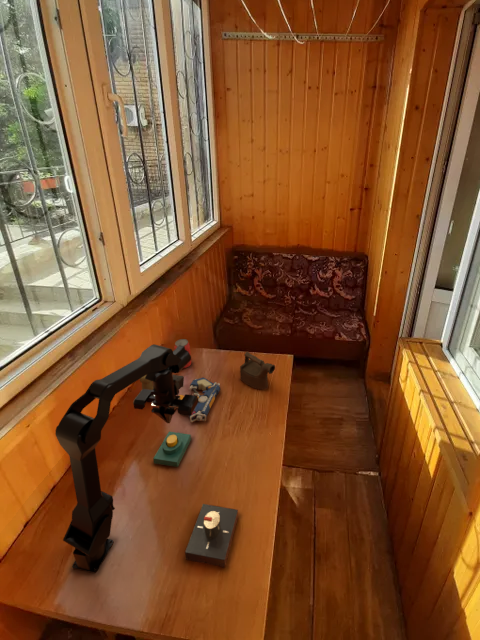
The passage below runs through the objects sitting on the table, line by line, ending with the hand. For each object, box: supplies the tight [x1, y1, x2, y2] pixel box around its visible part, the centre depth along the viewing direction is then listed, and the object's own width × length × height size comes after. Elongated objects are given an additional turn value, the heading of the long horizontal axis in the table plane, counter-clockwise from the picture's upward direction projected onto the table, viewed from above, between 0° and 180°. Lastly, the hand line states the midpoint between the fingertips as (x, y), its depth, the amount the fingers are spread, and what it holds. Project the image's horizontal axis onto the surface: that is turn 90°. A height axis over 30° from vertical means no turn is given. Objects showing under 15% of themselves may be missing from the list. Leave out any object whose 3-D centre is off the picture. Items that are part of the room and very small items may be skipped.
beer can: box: [174, 338, 192, 369], centre depth 141 cm, size 7×7×12 cm
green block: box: [153, 430, 192, 468], centre depth 102 cm, size 10×8×4 cm
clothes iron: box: [239, 351, 276, 390], centre depth 131 cm, size 8×16×13 cm, turn 48°
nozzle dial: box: [204, 511, 221, 539], centre depth 79 cm, size 4×4×4 cm
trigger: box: [167, 435, 177, 447], centre depth 102 cm, size 3×3×2 cm
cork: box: [139, 375, 153, 390], centre depth 124 cm, size 6×6×11 cm
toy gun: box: [178, 376, 221, 423], centre depth 122 cm, size 21×4×15 cm
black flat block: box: [184, 503, 239, 568], centre depth 80 cm, size 11×10×3 cm
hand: (169, 422), depth 99 cm, fingers closed
